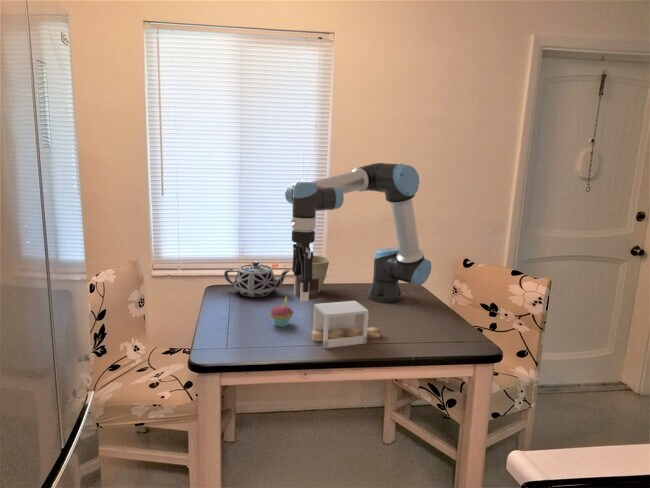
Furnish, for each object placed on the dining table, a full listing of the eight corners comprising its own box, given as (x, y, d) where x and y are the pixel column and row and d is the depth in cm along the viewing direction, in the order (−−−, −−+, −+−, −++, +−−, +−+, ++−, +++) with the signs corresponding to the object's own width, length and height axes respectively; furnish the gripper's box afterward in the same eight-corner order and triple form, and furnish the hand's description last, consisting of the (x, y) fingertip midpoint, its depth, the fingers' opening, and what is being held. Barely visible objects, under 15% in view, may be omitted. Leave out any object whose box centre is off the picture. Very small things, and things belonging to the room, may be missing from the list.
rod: (376, 334, 169) (377, 327, 168) (379, 337, 166) (380, 330, 165) (311, 338, 162) (311, 330, 162) (313, 342, 159) (313, 334, 159)
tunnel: (353, 331, 170) (355, 300, 167) (366, 343, 160) (368, 310, 157) (312, 335, 164) (314, 304, 161) (323, 348, 154) (325, 314, 151)
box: (318, 299, 152) (319, 278, 151) (301, 301, 150) (302, 279, 148) (312, 294, 158) (313, 273, 156) (295, 295, 155) (296, 274, 154)
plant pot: (289, 292, 212) (290, 259, 209) (308, 285, 224) (309, 253, 221) (315, 299, 204) (316, 264, 201) (333, 291, 216) (335, 259, 213)
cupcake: (295, 322, 176) (296, 292, 173) (286, 330, 168) (287, 299, 166) (275, 318, 179) (276, 289, 176) (265, 326, 171) (266, 295, 168)
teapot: (288, 301, 199) (289, 268, 196) (218, 298, 200) (218, 265, 197) (292, 289, 218) (293, 258, 215) (229, 285, 218) (229, 255, 215)
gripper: (284, 225, 156) (282, 289, 160) (301, 235, 138) (299, 307, 143) (304, 224, 158) (302, 288, 163) (324, 235, 141) (321, 305, 146)
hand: (301, 297), depth 153 cm, fingers closed on box, 6 cm apart
